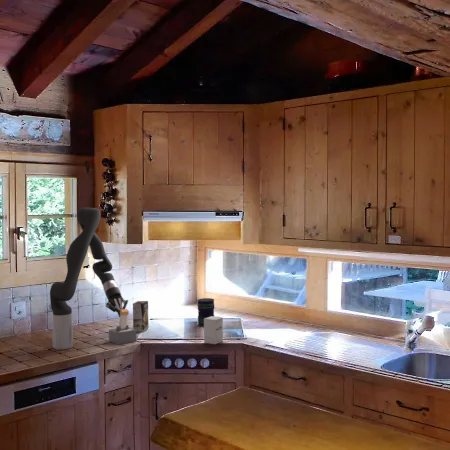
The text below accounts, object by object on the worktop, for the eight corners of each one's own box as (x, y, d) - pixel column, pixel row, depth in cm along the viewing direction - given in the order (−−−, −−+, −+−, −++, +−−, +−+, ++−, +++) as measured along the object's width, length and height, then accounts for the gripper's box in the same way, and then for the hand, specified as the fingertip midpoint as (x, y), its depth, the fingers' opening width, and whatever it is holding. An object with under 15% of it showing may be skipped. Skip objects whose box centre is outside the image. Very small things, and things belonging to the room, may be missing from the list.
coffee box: (143, 332, 312) (143, 303, 311) (132, 331, 313) (132, 303, 313) (149, 328, 321) (148, 300, 320) (138, 328, 322) (137, 300, 322)
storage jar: (204, 327, 321) (204, 301, 320) (194, 324, 328) (194, 299, 328) (218, 324, 327) (217, 299, 326) (208, 322, 335) (207, 297, 334)
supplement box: (215, 344, 283) (215, 319, 283) (203, 342, 287) (203, 318, 286) (223, 341, 289) (223, 317, 289) (211, 339, 293) (211, 315, 293)
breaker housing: (109, 341, 294) (108, 325, 294) (128, 337, 300) (127, 322, 300) (117, 344, 286) (116, 329, 285) (136, 341, 292) (136, 325, 292)
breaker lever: (118, 328, 293) (120, 309, 290) (124, 327, 295) (126, 308, 292) (120, 330, 291) (122, 312, 288) (126, 329, 293) (128, 311, 290)
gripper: (102, 287, 295) (112, 314, 286) (125, 285, 303) (136, 311, 294) (98, 296, 300) (108, 322, 291) (120, 293, 307) (131, 319, 298)
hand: (122, 316), depth 292 cm, fingers closed
